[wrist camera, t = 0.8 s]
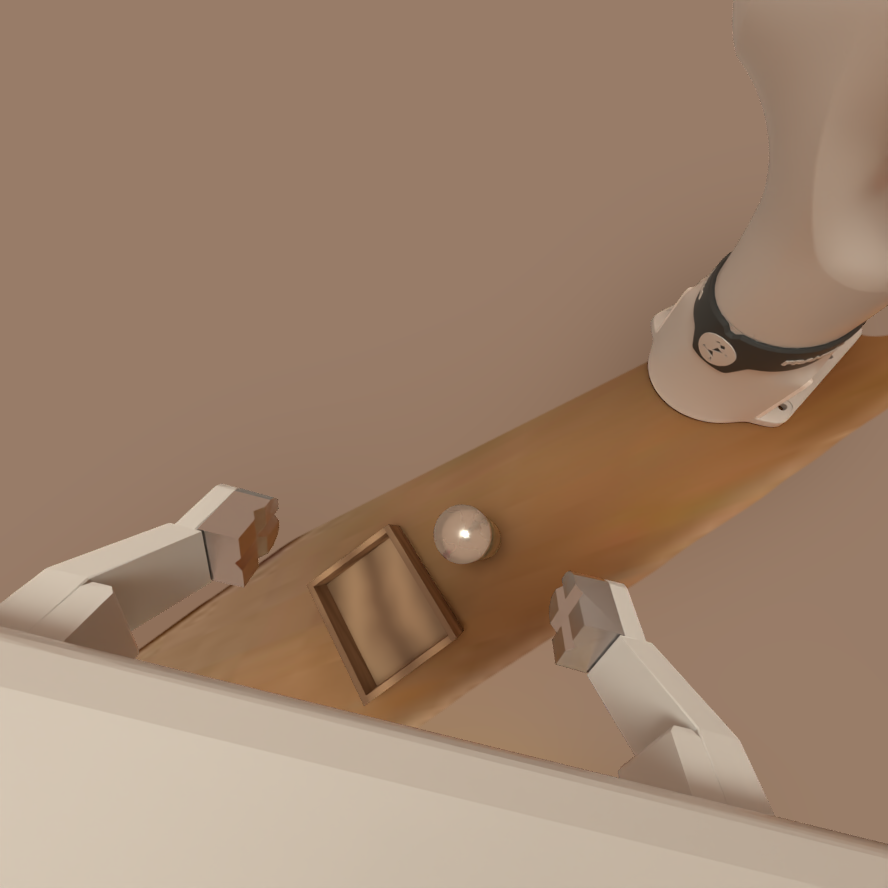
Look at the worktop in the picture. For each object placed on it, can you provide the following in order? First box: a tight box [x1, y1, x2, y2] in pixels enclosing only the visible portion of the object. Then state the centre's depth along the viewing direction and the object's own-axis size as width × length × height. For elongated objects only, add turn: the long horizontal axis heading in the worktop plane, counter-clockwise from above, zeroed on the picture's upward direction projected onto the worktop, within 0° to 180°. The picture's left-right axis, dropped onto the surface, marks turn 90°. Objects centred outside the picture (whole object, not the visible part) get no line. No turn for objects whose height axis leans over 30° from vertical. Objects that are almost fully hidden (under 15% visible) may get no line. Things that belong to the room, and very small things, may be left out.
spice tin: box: [434, 505, 501, 564], centre depth 39 cm, size 5×5×13 cm
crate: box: [307, 524, 463, 706], centre depth 44 cm, size 12×15×4 cm
